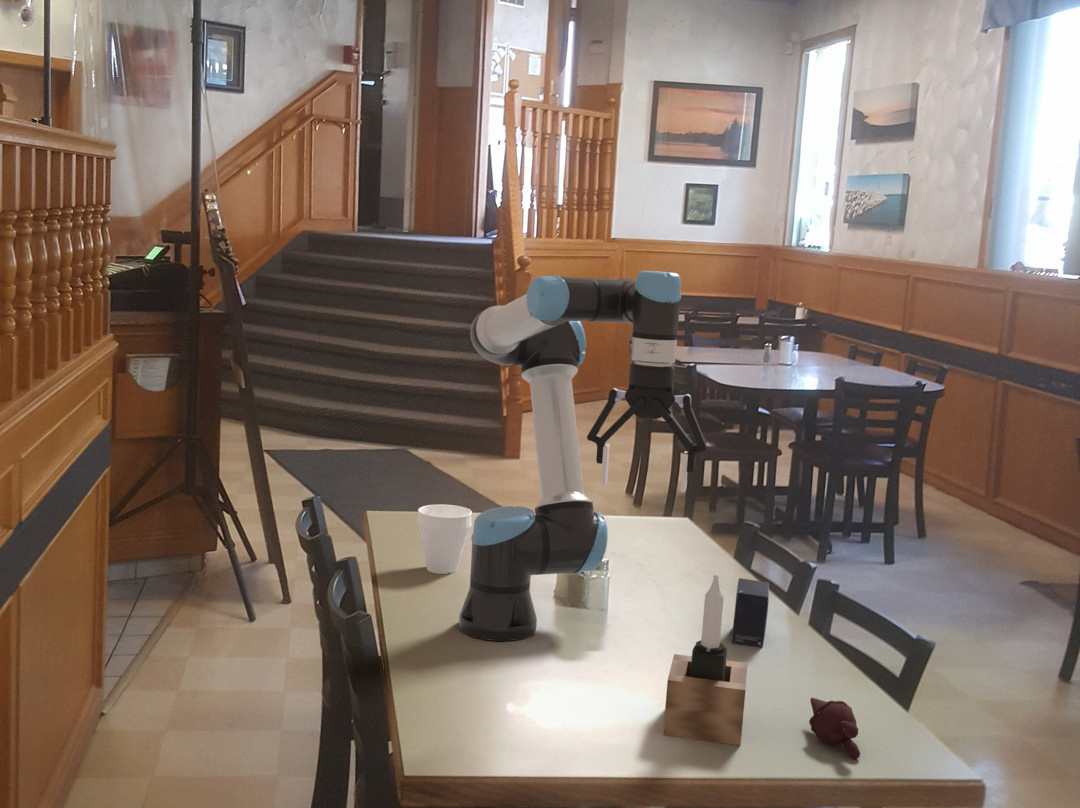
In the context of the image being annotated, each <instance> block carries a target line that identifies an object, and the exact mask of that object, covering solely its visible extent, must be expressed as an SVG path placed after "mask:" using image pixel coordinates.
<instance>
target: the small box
mask: <svg viewBox="0 0 1080 808" xmlns="http://www.w3.org/2000/svg"><path fill="white" fill-rule="evenodd" d="M769 587H770V584H769V582H768V581H760V580H754V579H746V578H742V577H741V578H738V581H737V588H736V594H735V604H734V605H735V606H734V615H733V624H732V634H731V641H730V642H731V644H735V645H736V644H737V645H743V646H751V647H752V646H753V647H759V648H763V647H764V646H763V645H764V642H765V636H766V630H767V620H768V611H769V604H770V603H769V601H770V600H769V599H770V588H769Z"/></svg>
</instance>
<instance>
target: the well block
mask: <svg viewBox="0 0 1080 808" xmlns="http://www.w3.org/2000/svg"><path fill="white" fill-rule="evenodd" d="M691 662H692V655H684V654H677V653H676V654H673V656H672V662H671V664H670V670H669V673H668V677H667V684H666V693H665V694H666V695H665V696H666V697H665V707H664V708H665V709H664V720H663V722H664V723H663V731H662V733H663V735H664V736H671V737H678V738H683V739H684V738H685V739H691V740H698V741H706V742H712V743H719V744H727V745H734V746H741V744H742V743H741V742H742V736H743V735H742V733H743V724H744V723H743V721H744V713H745V712H744V710H745V700H746V690H747V689H746V688H747V676H748V673H747V672H748V663H747V662H739V661H731V660H726V669H725V680H724V681H716V680H709V679H701V678H693V677H690V674H691Z"/></svg>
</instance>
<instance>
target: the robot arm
mask: <svg viewBox="0 0 1080 808" xmlns="http://www.w3.org/2000/svg"><path fill="white" fill-rule="evenodd" d="M681 280H682V279H681V276H680V274H678V273H676V272H671V271H659V270H657V271H656V270H640V271H639V272H638V273H637V275H636V278H635V279H633V278H628V277H627V278H624V277H623V278H621V277H619V278H601V277H600V278H599V277H598V278H593V277H592V278H591V277H590V278H589V277H577V276H574V277H573V276H559V275H556V274H555V275H553V274H552V275H548V276H547V275H545V276H541V275H540V276H536V277H534V278H532V280H531V282H530V284H529V286H528V288H527V292H526V294H524V295H522V296H520V297H517V299H514V300H513V301H511V302H508V303H507V304H505V305H493V306H490V307H488V308H486V309H484V310H482V311H481V312H480V313H479V314H477V315H476V317H475V318H474V320H473V321H472V323H471V325H470V330H469V331H470V332H469V334H470V335H469V336H470V340H471V341H470V342H471V343H472V346H473V347H474V350H475V351H476V352H477V353H478V354H479V355H480V356H481V357H482V358H483V359H485V360H487V361H489V362H491V363H494V364H496V365H501V366H513V367H520V373H521V378H522V379H523V380H524V381H526V382H527V383H528V385H529V389H530V399H531V408H532V409H531V410H532V418H533V429H534V438H535V439H534V440H535V447H536V448H535V449H536V450H535V451H536V457H537V459H536V460H537V467H538V479H539V489H540V490H539V491H540V500H539V502H538V503H537V504H536V505H535V507H534V511H533V509H531V508H529V507H526V506H512V505H511V506H510V505H509V506H506V505H505V506H499V507H493V508H489V509H487V510H485V511H482V512H481V513H479V514H478V515H477V516H476V518H475V519H474V521H473V528H472V535H471V538H470V539H471V558H470V559H471V560H470V576H469V577H470V579H469V580H470V581H469V590H468V592H467V595H466V597H465V599H464V602H463V605H462V607H461V610H460V613H459V617H458V628H459V630H460V631H461V632H463V633H464V634H466V635H467V636H471V637H474V638H477V639H481V640H488V641H496V642H497V641H498V642H500V641H501V642H502V641H503V642H504V641H507V642H508V641H517V640H522V639H523V640H524V639H527V638H529V637H531V636H533V635H534V634H535V633H536V632H537V625H538V624H537V623H538V620H537V614H536V611H535V607H534V602H533V599H532V596H531V591H530V590H531V586H530V585H531V577H532V576H537V575H555V574H557V575H559V574H571V573H572V574H575V575H576V574H579V573H582V572H583V573H584V572H591V571H593V570H595V569H596V568H597V569H598V567H599V566H600V564H601V563H602V562H603V560H604V556H605V554H606V551H607V546H608V537H609V536H608V535H609V534H608V531H609V530H608V525H607V521H606V519H605V516H604V515H603V514H602V513H600V512H598V511H595V510H594V503H593V500H592V499H590V498H589V497H587V496H586V494H585V491H584V482H583V473H582V471H583V470H582V465H581V454H580V446H579V444H580V443H579V435H578V427H577V419H576V417H577V416H576V408H575V399H574V392H573V381H572V380H573V378H574V377H575V376H576V375H577V373H579V366H580V365H582V364H583V362H584V360H585V356H586V349H587V339H586V333H585V330H584V325H582V322H594V323H595V322H596V323H624V324H625V323H626V324H631V325H632V334H631V346H630V347H631V349H630V350H631V351H630V359H631V360H632V361H633V362H632V363H631V364H629V377H628V387H627V390H626V391H625V390H621V389H618V387H613V388H611V389H610V390H609V392H608V398H607V402H606V403H605V405H604V407H603V409H602V410H601V412H600V413H599V416H598V417H597V419H596V421H595V422H594V424H593V426H592V427H591V429H590V431H589V432H588V434H587V436H586V438H587V440H588V441H590V442H593V443H595V445H596V457H595V458H596V463H597V464H599V465H600V464H601V477H600V485H606V484H607V483H608V478H609V463H610V450H611V447H610V446H611V443H606V442H607V441H609V440H610V438H611V437H612V436H614V435H615V434H616V433H617V432H618V430H619V429H621V427H622V426H623V425H624V424H625V423H626V422H627V421H628V420H630V419H631V418H632V417H633V415H635V416H636V417H638V418H640V419H645V418H649V419H652V420H658V419H660V418H662V419H663V420H664V422H665V423H666V424H667V425H668V427H669V428H670V429H671V431H672V432H673V433H674V435H675V436H676V437H677V439H678V440H679V441H680V443H681V444H682V445H683V447H684V448H685V449H686V451H684V452H683V454H682V466H681V467H682V468H681V478H680V480H681V481H680V492H679V493H685V492H686V490H687V483H688V482H687V481H688V480H687V479H688V473H693V472H694V470H695V465H696V464H695V463H696V455H697V454H698V453H701V452H706V450H707V447H708V444H707V442H706V439H705V437H704V434H703V431H702V430H701V426H700V425H699V422H698V420H697V417H696V414H695V413H694V409H693V407H692V406H693V405H692V396H691V394H690V393H686V394H684V395H682V394H680V395H675V392H674V383H675V381H674V380H675V372H676V371H675V370H676V369H675V366H674V365H673V364H674V363H675V362H676V359H677V357H676V355H677V346H678V345H677V344H678V337H677V336H678V330H679V329H678V328H679V320H680V317H679V316H680V308H681V300H682V299H681V298H682V294H681V285H682V281H681ZM622 399H625V400H626V402H627V404H628V405H629V408H628V409H627V410H626V411H625V412H624V413H623V414H622V415H621V416H620V417H619V418H618V419H617V420H616V421H615V422H614V423H613V424H612V425H611V426H610V427H608V429H607V430H606V431H605V432H604V433H603V434H602V435H599V432H600V430H601V429H602V427H603V426H604V424H605V423H606V420H607V419H608V417H609V416H610V414H611V412H612V410H613V409H614V407H615V405H616V403H620V402H621V401H622ZM674 403H677V405H678V406H679V408H681V409H683V412H684V413H683V414H684V415H685V417H686V421H687V423H688V425H689V428H690V430H691V432H692V434H693V438H694V440H695V442H696V444H695V443H694V442H693V441H692V439H691V438H690V437H689V436H688V434H687V433H686V431H685V430H684V429H683V427H682V425H681V424H680V423H679V422H678V420H677V419H676V418H675V416H674V414H673V413H672V411H671V410H670V409H671V407H672V406H673V405H674Z"/></svg>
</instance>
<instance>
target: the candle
mask: <svg viewBox="0 0 1080 808" xmlns="http://www.w3.org/2000/svg"><path fill="white" fill-rule="evenodd" d="M712 578H713V579H712V583H711V585H710V587H709V589H708V590H707V591H706V593H705V594H704V605H703V615H702V617H703V619H702V630H701V631H702V632H701V640H699V641H696V643H695V645H694V647H693V648H692V650H691V651H692V654H691V656H692V662H691V674H690V677H693V678H701V679H709V680H716V681H724V680H725V669H726V661H727V654H728V648H727V647H726V646H725V644H723V643H721V634H722V633H721V631H722V621H723V620H722V619H723V610H724V609H723V608H724V599H725V598H724V594H723V593H722V590H721V587H720V582H719V579H720V577H719V574H714V575H713V577H712Z"/></svg>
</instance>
